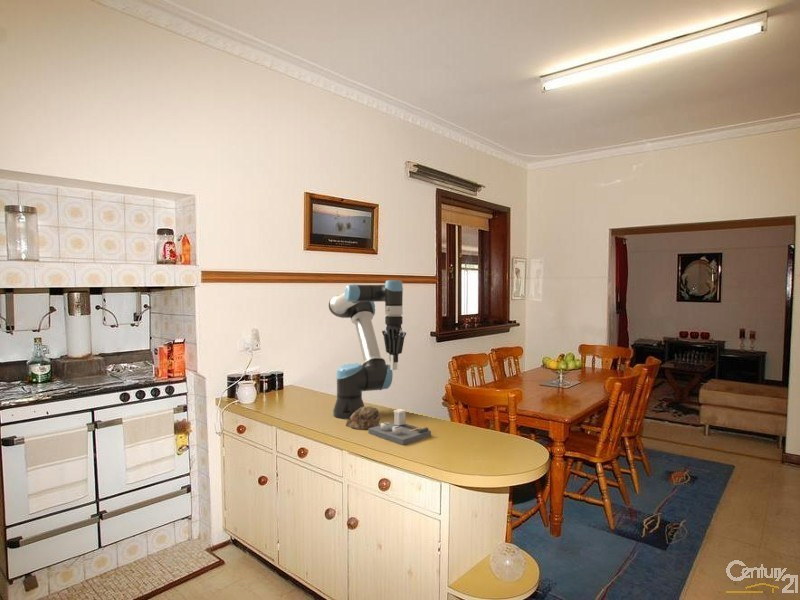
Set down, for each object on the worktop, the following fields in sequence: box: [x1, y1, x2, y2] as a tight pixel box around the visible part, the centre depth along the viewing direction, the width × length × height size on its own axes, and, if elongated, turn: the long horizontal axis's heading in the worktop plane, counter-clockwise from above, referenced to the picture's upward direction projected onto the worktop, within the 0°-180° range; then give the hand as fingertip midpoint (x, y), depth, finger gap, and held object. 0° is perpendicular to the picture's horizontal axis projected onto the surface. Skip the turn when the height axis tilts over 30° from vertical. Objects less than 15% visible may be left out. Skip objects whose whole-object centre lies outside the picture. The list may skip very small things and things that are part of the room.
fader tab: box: [393, 408, 407, 426], centre depth 200 cm, size 3×4×6 cm
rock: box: [345, 405, 381, 431], centre depth 205 cm, size 14×9×10 cm
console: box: [367, 421, 432, 446], centre depth 193 cm, size 20×16×5 cm
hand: (393, 369), depth 208 cm, fingers closed
